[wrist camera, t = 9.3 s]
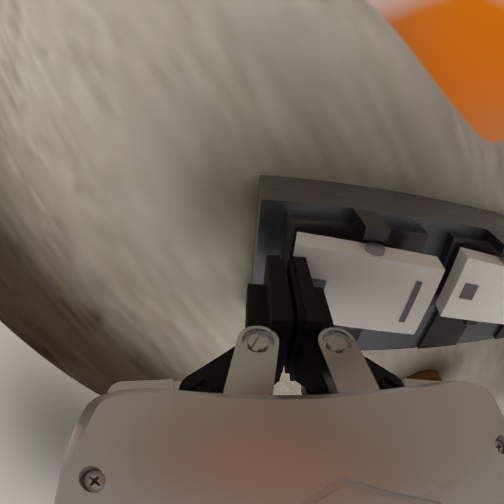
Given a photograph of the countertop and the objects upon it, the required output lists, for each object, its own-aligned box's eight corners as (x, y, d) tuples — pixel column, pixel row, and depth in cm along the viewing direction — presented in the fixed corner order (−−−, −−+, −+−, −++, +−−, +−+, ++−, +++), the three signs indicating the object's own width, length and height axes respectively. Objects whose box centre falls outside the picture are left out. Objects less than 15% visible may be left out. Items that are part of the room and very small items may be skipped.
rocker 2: (535, 264, 12) (543, 274, 11) (507, 316, 14) (513, 328, 13) (461, 243, 13) (469, 255, 12) (434, 306, 16) (439, 319, 14)
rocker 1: (438, 253, 12) (447, 267, 11) (408, 321, 14) (412, 338, 13) (297, 227, 13) (295, 240, 12) (284, 304, 15) (281, 320, 14)
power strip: (567, 234, 18) (598, 263, 12) (534, 306, 23) (557, 337, 18) (260, 175, 17) (261, 217, 12) (248, 307, 22) (246, 372, 17)
